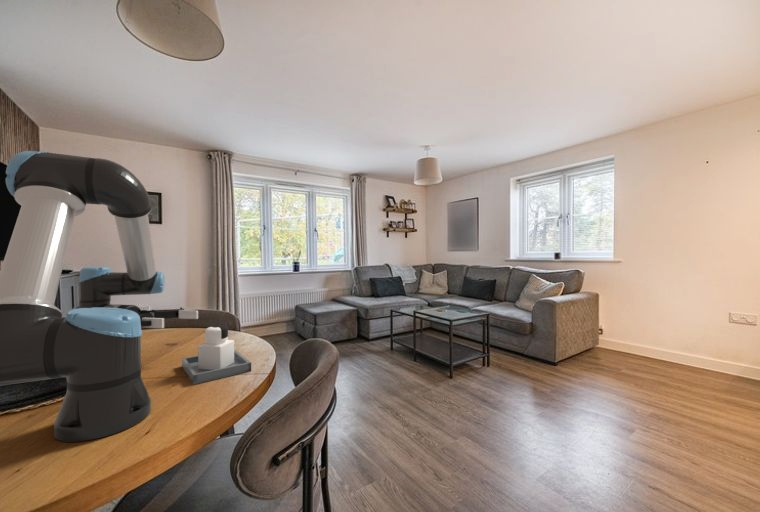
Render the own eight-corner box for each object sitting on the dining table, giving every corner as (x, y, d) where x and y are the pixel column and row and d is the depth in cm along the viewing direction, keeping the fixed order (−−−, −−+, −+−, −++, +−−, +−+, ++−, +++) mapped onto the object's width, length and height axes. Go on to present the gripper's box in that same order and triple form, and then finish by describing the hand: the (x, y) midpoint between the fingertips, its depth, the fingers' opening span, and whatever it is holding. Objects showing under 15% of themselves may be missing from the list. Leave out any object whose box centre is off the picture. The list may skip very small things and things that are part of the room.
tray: (251, 371, 93) (251, 362, 93) (193, 384, 83) (193, 375, 83) (233, 356, 106) (233, 348, 106) (181, 366, 96) (181, 358, 96)
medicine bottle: (213, 361, 99) (213, 323, 99) (234, 362, 98) (234, 324, 98) (197, 369, 92) (197, 328, 91) (220, 371, 91) (220, 330, 91)
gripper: (154, 320, 112) (209, 322, 109) (78, 338, 87) (145, 341, 84) (154, 299, 112) (209, 300, 109) (78, 311, 87) (145, 313, 84)
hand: (181, 318), depth 96 cm, fingers open, 13 cm apart
